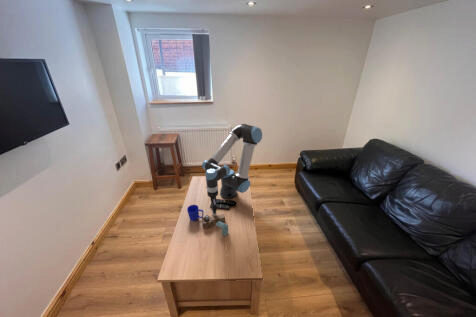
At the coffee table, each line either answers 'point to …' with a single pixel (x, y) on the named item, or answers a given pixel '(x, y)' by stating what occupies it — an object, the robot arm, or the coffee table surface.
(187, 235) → the coffee table surface
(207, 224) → the link
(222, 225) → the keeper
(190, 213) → the mug
